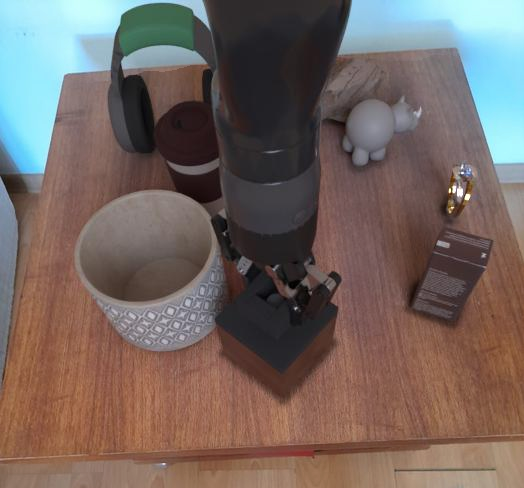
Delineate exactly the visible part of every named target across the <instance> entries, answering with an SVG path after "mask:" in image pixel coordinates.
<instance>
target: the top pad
mask: <svg viewBox="0 0 524 488" xmlns="http://www.w3.org/2000/svg"><path fill="white" fill-rule="evenodd" d="M288 283H289V282H288ZM288 283H287V284H288ZM244 288H245V287H244ZM244 288H243V289H244ZM243 289H242V290H243ZM242 290H241V291H242ZM274 290H276V291H277V292H279V291H278V289H277V287H276V285H275V283H274V281H273V278H272V277H270V276H269V275H268V273H266V272H264V271H262V272H261V273H260V274H259V275H258V276H257V277H256V278H255V279H254V280H253V281H252V282H251V283H250V284H249V285H248V286H247V287H246V288H245V289H244V290H243V291H242V292H241V291H240V292H241V293H240V292H239V293H240V294H239V293H238V294H239V295H238V294H237V295H238V296H237V295H236V296H237V297H236V296H235V297H236V303H237V309H238V312H239V313H240V314H242V315H243V316H244V317H246V318H247V319H248V320H250V321H251V322H252V323H254V324H255V325H257V326H258V327H259V328H261V329H262V330H263V331H265V332H266V333H268V334H269V335H270V336H271V337H273V338H274V339H275V340H278V339H279V338H280V337H281V336H282V335H283V334H284V333H285V331H286V330H287V329H288V328H289V327H290V326H291V324H290V313H289V307H290V305H289V303H288V300H286V301H285V302H284V303H283V304H282V305H281V306H280V307H279V308H278V309H275V308H274V307H273V306H271V305H270V304H268V303H267V302H266V301H264V300H265V299H266V298H267V297H268V296H269V295H270V294H271V293H272V292H273V291H274ZM301 293H302V291H300V292H299V293H298V295H297V296H299V295H300V294H301Z"/></svg>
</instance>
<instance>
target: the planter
mask: <svg viewBox="0 0 524 488" xmlns="http://www.w3.org/2000/svg"><path fill="white" fill-rule="evenodd" d="M211 219H212V218H211V216H210V215H209V213H208V212H207V211H206V210H205V208H204V207H202V206H201V205H200V204H199V203H198V202H196V201H195V200H193V199H192V198H190V197H188V196H185V195H183V194H181V193H178V192H177V191H173V190H168V189H167V190H166V189H145V190H138V191H135V192H130V193H127V194H124V195H121V196H119V197H117V198H115V199H113V200H111V201H109V202H108V203H106V204H105V205H103V206H102V207H100V208H99V209H98V210H96V212H94V213H93V214H92V216H91V217H90V218H89V219H88V220H87V221H86V223H85V224H84V226H83V227H82V228H81V230H80V232H79V235H78V237H77V239H76V243H75V246H74V257H73V258H74V267H75V270H76V273H77V276H78V278H79V279H80V281H81V282H82V284H83V286H84V288H85V289H86V290H87V291H88V293H89V294H90V295H91V298H92V299H93V300H94V302H95V303H96V304H97V306H98V307H99V308H100V310H101V311H102V313H103V314H104V316H105V317H106V318H107V320H108V321H109V323H110V324H111V326H112V327H113V329H114V330H115V331H116V332H117V334H118V335H119V336H120V337H121V338H122V339H123V340H125V341H126V342H128V343H129V344H130V345H133V346H135V347H137V348H139V349H142V350H145V351H146V350H147V351H151V352H152V351H153V352H170V351H176V350H180V349H185V348H187V347H190V346H192V345H194V344H196V343H198V342H200V341H201V340H203V339H204V338H206V336H208V335H209V334H210V333H211V332H213V330H214V329H215V328H217V326H216V322H215V317H216V316H217V315H218V314H219V313H220V312H221V311H222V310H223V309H224V308H225V307H226V306H227V305H228V302H229V284H228V279H227V274H226V270H225V266H224V261H223V254H222V251H221V248H220V245H219V243H218V240H217V237H216V235H215V232H214V229H213V226H212V224H211V221H210V220H211Z"/></svg>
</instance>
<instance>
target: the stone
mask: <svg viewBox="0 0 524 488" xmlns="http://www.w3.org/2000/svg"><path fill="white" fill-rule="evenodd" d="M387 75H388V73H387V72H386V71H385V70H383V69H382V68H381V67H380V66H379V64H378V62H377V61H375V60H373V61H370V60H369V59H368V58H366V57H359V56H354V57H350V58H348V59H347V60H345V61H343V62H340V63H339V64H337V65H335V66H334V68H333V71H332V74H331V77H330V80H329V82H328V85H327V87H326V89H325V92H324V94H323V97H322V119H321V121H322V120H325V119H331V120H334V121H337V122H342V123H345V124H346V122H347V118H348V116H349V114H350V112H351V111H352V109H353V108H354V107H355V106H356V105H357V104H359V103H360V102H362V101H365V100H368V99H378V93H377V91H378V89H379V87H380V85H381V83H382V82H383V80H384V79H385V78H386V77H387Z"/></svg>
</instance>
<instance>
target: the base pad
mask: <svg viewBox="0 0 524 488" xmlns="http://www.w3.org/2000/svg"><path fill="white" fill-rule="evenodd" d="M244 289H245V287H244V288H243V289H242V290H241V291H240V292H239V293H238V294H237V295H236V296H235V297H234V298H233V299H232V300H231V301H230V302H229V303H227V306H226V307H225V308H224V309H223V310H222V311H221V312H220V313H219V314H218V315H217V316H216V317H215V322H216V324H217V325H219V326H220V327H221V328H222V329H224V330H225V331H226V332H228V333H229V334H230V335H232V336H233V337H234V338H235V339H237V340H238V341H239V342H241V343H242V344H243V345H245V346H246V347H247V348H249V349H250V350H251V351H252V352H254V353H255V354H256V355H258V356H259V357H260V358H262V359H263V360H264V361H266V362H267V363H268V364H269V365H271V366H272V367H273V368H275V369H276V370H277V371H279V372H280V373H281V374H283V373H284V372H285V371H286V370H287V369H288V368H289V366H290V365H291V364H292V363H293V362H294V361H295V360H296V359H297V357H298V356H299V355H300V354H301V353H302V352H303V351H304V350H305V349H306V347H307V346H308V345H309V344H310V343H311V342H312V341H313V340H314V338H315V337H316V336H317V335H318V334H319V333H320V332H321V331H322V329H323V328H324V327H325V326H326V325H327V324H328V323H329V322H330V321H331V319H332V318H333V317H334V316H335V315H336V314H337V313H338V314H339V306H337V305H336V304H335V303H334V302H332V301H330V303H329V304H328V305H327V306H326V307H325V308H324V310H323V311H322V312H321V313H320V314H319V315H318V316H317V317H316V318H315V319H314V320H311V319H309V318H308V319H307V320H306V321H305V322H304V323H303V324H302V325H301V326H300V325H299V324H298V325H297V326H296V327H294V326H293V325H291V326H290V327H289V328H288V329H287V330H286V331H285V333H284V334H283V335H282V336H281V337H280V338H279V339H278V340H275V339H274V338H273V337H271V336H270V335H269V334H268V333H266V332H265V331H263V330H262V329H261V328H259V327H258V326H257V325H255V324H254V323H252V322H251V321H250V320H248V319H247V318H246V317H244V316H243V315H242V314H240V313H239V312H238V309H237V303H236V297H237V296H238V295H239V294H240V293H241V292H242V291H243V290H244ZM286 300H287V298H285V297H283V296H281V295H280V294H279V292H277V291H276V290H274V291H273V292H272V293H271V294H270V295H269V296H268V297H267V298H266V299H265V300H264V301H266V302H267V303H268V304H270V305H271V306H273V307H274V308H275V309H278V308H279V307H280V306H281V305H282V304H283V303H284V302H285V301H286ZM338 314H337V315H338Z"/></svg>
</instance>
